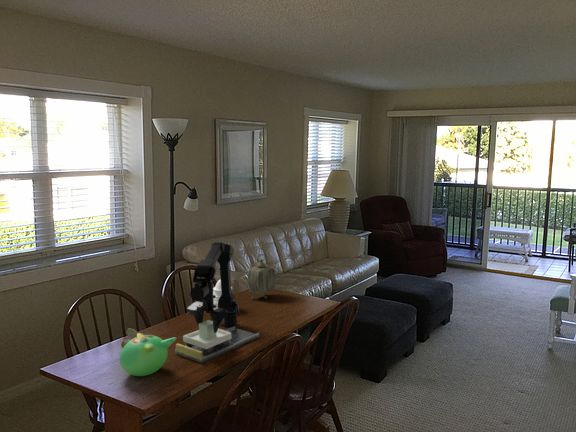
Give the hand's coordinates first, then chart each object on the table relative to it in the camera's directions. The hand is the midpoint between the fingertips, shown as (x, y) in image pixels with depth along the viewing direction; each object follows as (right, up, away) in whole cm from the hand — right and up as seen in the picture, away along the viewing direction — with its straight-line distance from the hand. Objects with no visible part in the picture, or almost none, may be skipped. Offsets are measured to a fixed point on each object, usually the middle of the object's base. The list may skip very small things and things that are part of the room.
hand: (207, 330), depth 204 cm
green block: (0, -3, 0) cm, 3 cm away
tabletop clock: (+19, +1, +74) cm, 76 cm away
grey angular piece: (-32, -9, +2) cm, 33 cm away
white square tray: (0, -7, +1) cm, 7 cm away
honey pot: (-1, -2, +54) cm, 54 cm away
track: (+4, -8, +6) cm, 10 cm away
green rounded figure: (-20, -11, -20) cm, 30 cm away
